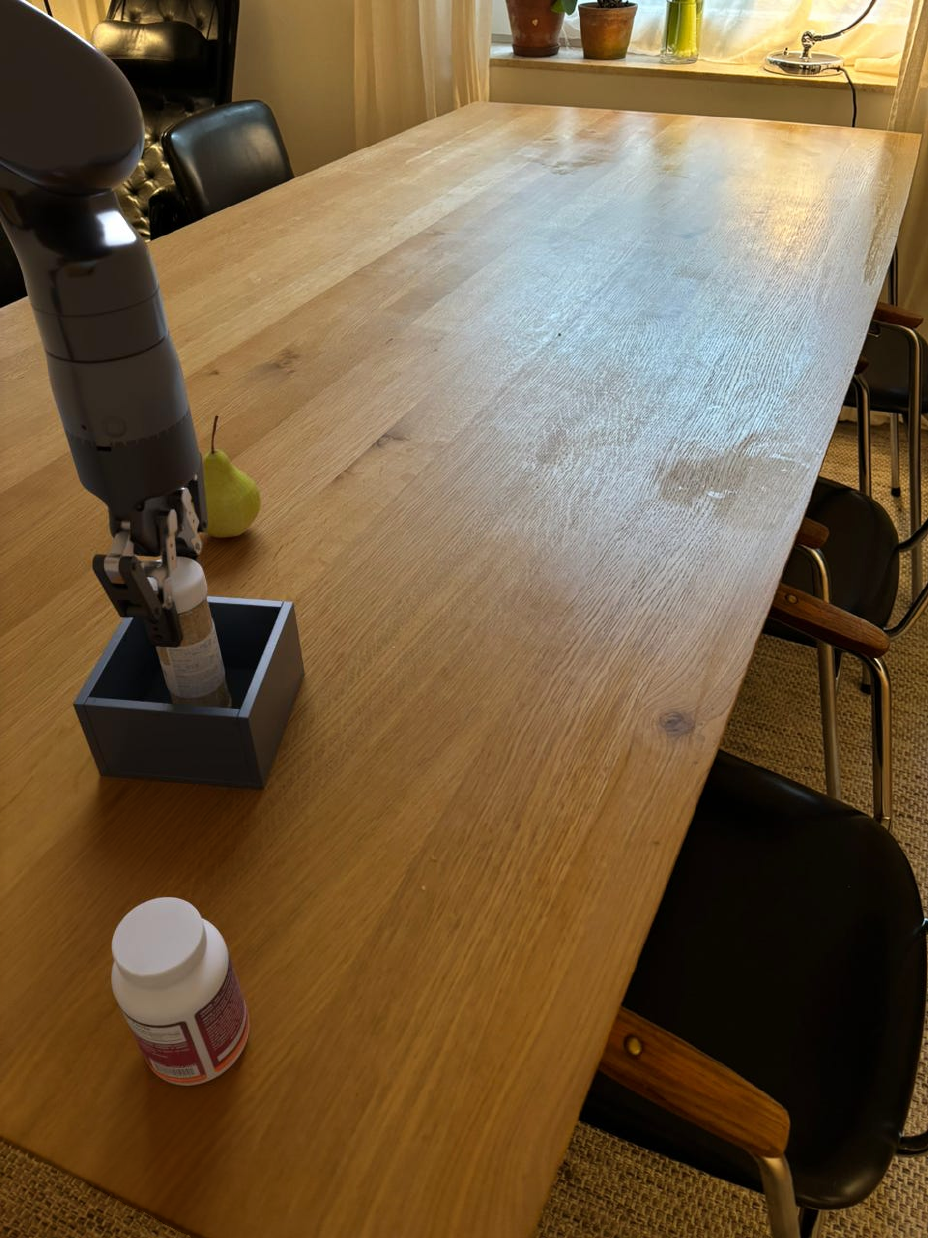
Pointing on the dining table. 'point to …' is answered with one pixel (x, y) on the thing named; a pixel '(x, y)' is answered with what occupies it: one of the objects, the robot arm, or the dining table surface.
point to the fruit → (228, 495)
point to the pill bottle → (178, 991)
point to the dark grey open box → (196, 735)
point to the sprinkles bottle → (193, 643)
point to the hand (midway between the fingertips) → (179, 619)
